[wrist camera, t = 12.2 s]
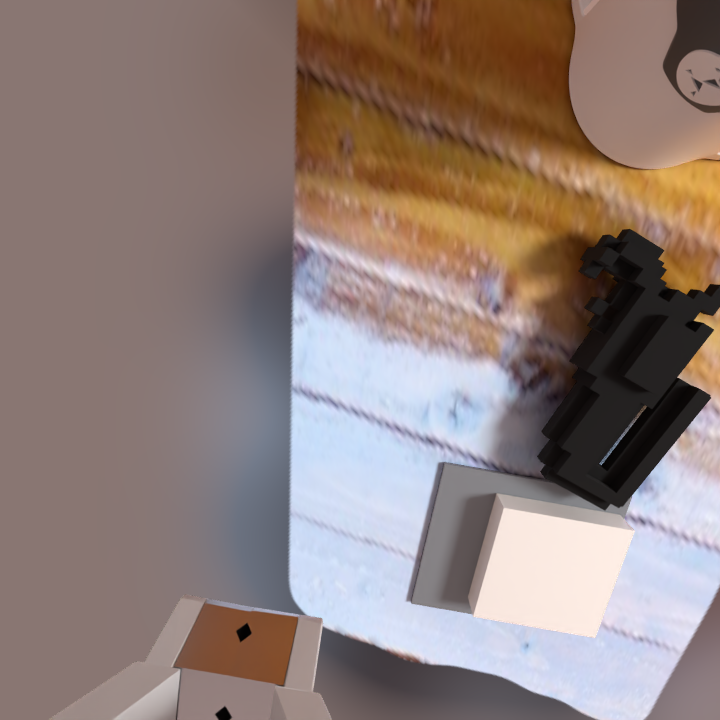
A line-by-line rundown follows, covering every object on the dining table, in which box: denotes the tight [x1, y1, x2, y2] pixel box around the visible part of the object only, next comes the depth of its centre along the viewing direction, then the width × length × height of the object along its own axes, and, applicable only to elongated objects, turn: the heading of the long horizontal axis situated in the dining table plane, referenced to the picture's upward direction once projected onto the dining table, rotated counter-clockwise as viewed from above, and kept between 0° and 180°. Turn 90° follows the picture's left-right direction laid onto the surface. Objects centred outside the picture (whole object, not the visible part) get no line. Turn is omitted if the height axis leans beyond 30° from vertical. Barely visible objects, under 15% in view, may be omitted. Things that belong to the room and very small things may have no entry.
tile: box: [468, 493, 635, 638], centre depth 42 cm, size 2×12×12 cm
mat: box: [411, 462, 632, 614], centre depth 44 cm, size 18×16×1 cm
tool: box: [537, 229, 720, 511], centre depth 37 cm, size 5×20×15 cm
